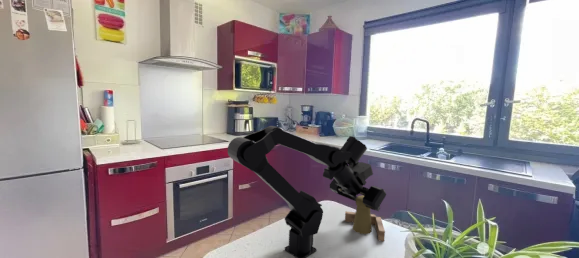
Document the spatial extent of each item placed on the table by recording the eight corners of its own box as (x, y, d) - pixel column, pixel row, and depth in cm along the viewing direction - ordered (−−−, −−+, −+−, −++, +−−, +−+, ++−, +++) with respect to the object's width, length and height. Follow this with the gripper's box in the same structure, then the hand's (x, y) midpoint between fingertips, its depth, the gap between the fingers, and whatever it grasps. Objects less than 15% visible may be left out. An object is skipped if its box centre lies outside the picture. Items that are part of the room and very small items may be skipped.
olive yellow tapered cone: (370, 235, 81) (372, 201, 80) (350, 231, 84) (352, 198, 82) (373, 227, 87) (375, 195, 85) (354, 223, 89) (356, 192, 88)
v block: (381, 242, 78) (382, 232, 77) (342, 220, 91) (343, 211, 91) (398, 235, 82) (399, 226, 82) (359, 215, 96) (359, 207, 95)
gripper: (384, 161, 73) (405, 193, 80) (337, 150, 88) (358, 177, 95) (363, 194, 69) (386, 224, 76) (318, 175, 85) (341, 202, 92)
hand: (367, 204), depth 85 cm, fingers open, 9 cm apart
